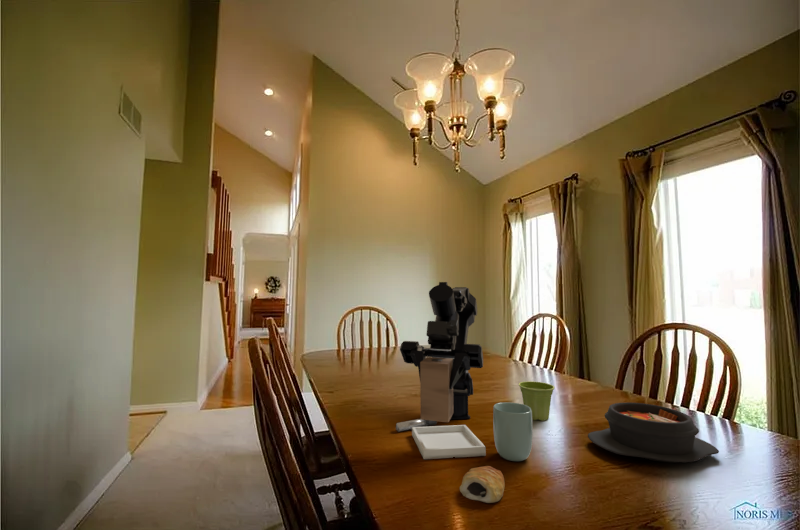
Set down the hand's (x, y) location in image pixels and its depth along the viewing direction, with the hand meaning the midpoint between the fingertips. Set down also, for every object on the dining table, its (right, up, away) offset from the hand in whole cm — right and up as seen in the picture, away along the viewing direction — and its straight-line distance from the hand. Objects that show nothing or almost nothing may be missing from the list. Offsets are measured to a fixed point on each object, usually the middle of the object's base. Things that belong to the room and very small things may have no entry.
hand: (435, 386), depth 79 cm
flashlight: (-4, -15, +13) cm, 20 cm away
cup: (+16, -14, -3) cm, 21 cm away
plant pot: (+30, -16, +22) cm, 40 cm away
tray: (+3, -14, +3) cm, 14 cm away
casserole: (+46, -14, 0) cm, 49 cm away
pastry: (+7, -13, -16) cm, 22 cm away
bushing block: (0, -7, +1) cm, 7 cm away
